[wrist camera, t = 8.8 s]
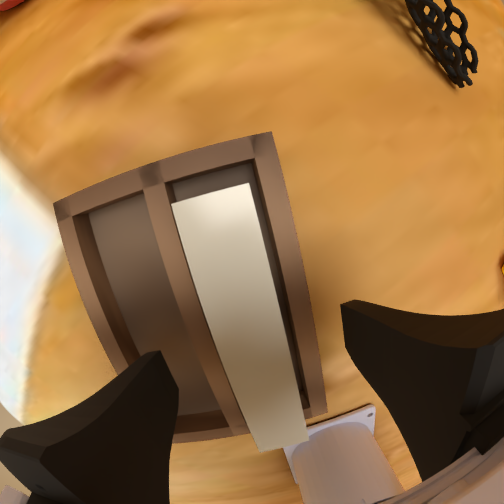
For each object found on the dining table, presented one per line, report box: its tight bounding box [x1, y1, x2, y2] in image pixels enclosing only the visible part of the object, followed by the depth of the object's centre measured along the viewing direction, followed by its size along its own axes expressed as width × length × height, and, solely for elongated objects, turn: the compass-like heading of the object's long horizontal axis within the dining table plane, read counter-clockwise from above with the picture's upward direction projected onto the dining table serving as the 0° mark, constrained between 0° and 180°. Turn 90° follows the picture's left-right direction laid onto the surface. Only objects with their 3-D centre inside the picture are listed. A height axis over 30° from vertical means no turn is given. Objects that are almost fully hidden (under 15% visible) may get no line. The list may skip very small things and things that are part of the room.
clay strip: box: [171, 183, 309, 453], centre depth 12 cm, size 12×2×5 cm, turn 15°
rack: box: [53, 131, 328, 443], centre depth 14 cm, size 16×11×3 cm
